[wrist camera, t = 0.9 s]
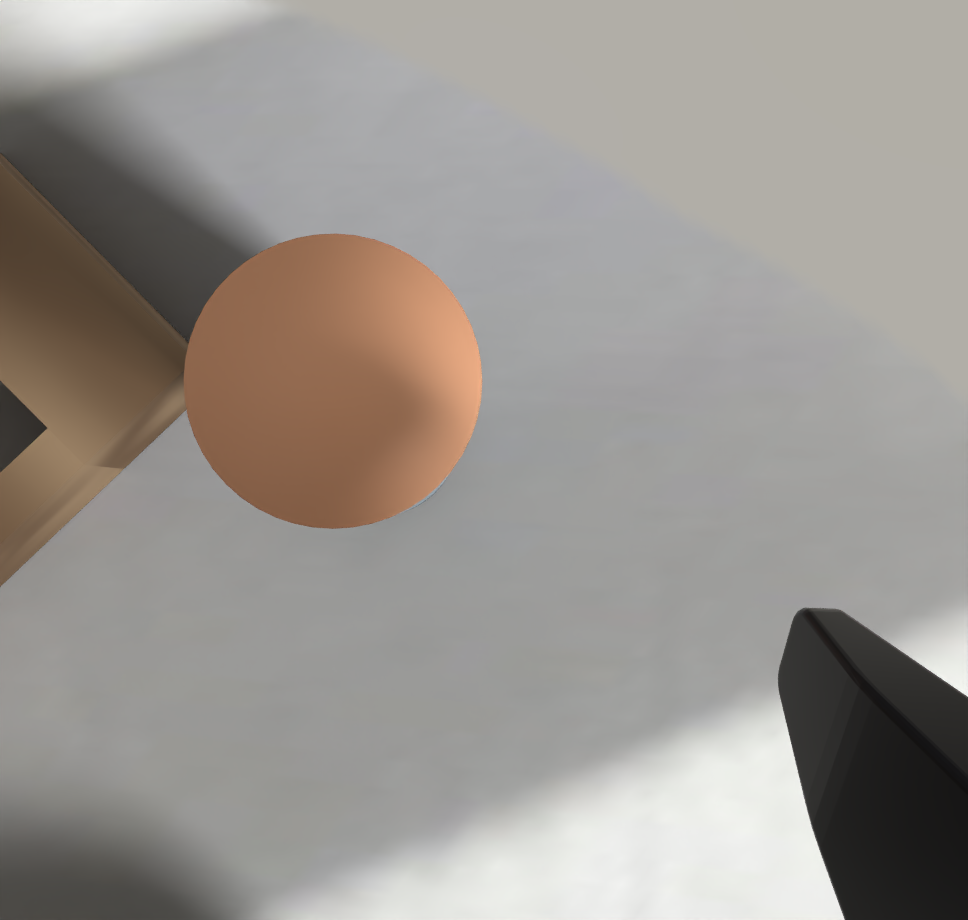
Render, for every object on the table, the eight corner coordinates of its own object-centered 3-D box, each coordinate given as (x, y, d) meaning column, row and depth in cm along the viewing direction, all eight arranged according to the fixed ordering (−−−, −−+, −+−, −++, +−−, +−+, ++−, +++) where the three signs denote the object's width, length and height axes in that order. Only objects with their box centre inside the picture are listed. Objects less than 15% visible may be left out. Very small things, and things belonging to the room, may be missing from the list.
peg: (380, 546, 26) (331, 590, 14) (272, 438, 26) (120, 377, 13) (488, 439, 27) (542, 382, 14) (382, 332, 27) (336, 173, 14)
